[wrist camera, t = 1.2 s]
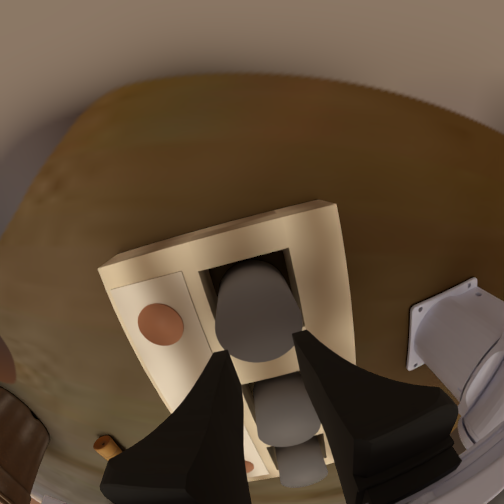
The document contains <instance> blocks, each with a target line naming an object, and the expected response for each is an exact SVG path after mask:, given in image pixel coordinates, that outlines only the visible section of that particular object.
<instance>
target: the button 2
mask: <svg viewBox="0 0 504 504" xmlns="http://www.w3.org/2000/svg"><path fill="white" fill-rule="evenodd" d="M253 396H254V405H255V415H256V424H257V433H258V437H259V439H260V440H261V441H262V442H263V443H265V444H267V445H270V446H274V447H289V446H294V445H298V444H301V443H303V442H305V441H307V440H309V439H310V438H312V437H313V436H314V435H315V434H316V433H317V432H318V431H319V429H320V426H321V422H320V420H319V418H318V416H317V413H316V411H315V409H314V407H313V405H312V402H311V400H310V398H309V396H308V393H307V391H306V389H305V386H304V383H303V379H302V376H301V374H300V373H299V372H297V371H296V372H292V373H288V374H285V375H281V376H277V377H273V378H269V379H265V380H260V381H257V382H256V383H255V385H254V388H253Z"/></svg>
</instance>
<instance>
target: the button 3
mask: <svg viewBox="0 0 504 504" xmlns="http://www.w3.org/2000/svg"><path fill="white" fill-rule="evenodd" d="M275 451H276V457H277V463H278V469H279V475H280V481H281V484H282V485H283V486H286V487H293V488H294V487H304V486H308V485H311V484H314V483H317V482H319V481H320V480H322V479H323V478H325V477H326V476H327V474H328V471H327V467H326V464H325V461H324V458H323V455H322V452H321V448H320V445H319V442H318V439H317V437H316V435H315V436H313V437H312V438H310V439H309V440H307V441H305V442H303V443H301V444H298V445H294V446H289V447H275Z"/></svg>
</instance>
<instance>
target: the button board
mask: <svg viewBox="0 0 504 504" xmlns="http://www.w3.org/2000/svg"><path fill="white" fill-rule="evenodd" d="M278 250H283V254H284V259H285V263H286V267H287V272H288V276H289V281H290V286H291V290H292V295H293V297H294V299H295V301H296V303H297V305H298V307H299V309H300V311H301V314H302V320H303V327H302V331H303V330H308V331H309V332H310V333H311V334H312V335H314V336H315V337H316V338H317V339H318V340H319V341H320V342H322V343H323V344H324V345H325V346H327V347H328V348H329V349H331V350H332V351H333V352H335V353H336V354H338V355H339V356H341V357H342V358H344V359H346V360H347V361H349V362H351V363H352V364H354V365H356V357H355V341H354V328H353V316H352V306H351V297H350V288H349V280H348V272H347V265H346V258H345V251H344V244H343V238H342V232H341V226H340V221H339V215H338V210H337V205H336V204H334V203H331V202H327V201H323V200H319V199H318V200H314V201H310V202H305V203H301V204H297V205H293V206H289V207H285V208H281V209H277V210H273V211H269V212H265V213H261V214H257V215H253V216H249V217H246V218H242V219H238V220H234V221H230V222H227V223H223V224H219V225H216V226H212V227H208V228H205V229H201V230H198V231H194V232H190V233H187V234H183V235H180V236H176V237H173V238H169V239H166V240H163V241H159V242H156V243H152V244H149V245H146V246H142V247H139V248H136V249H133V250H129V251H126V252H123V253H120V254H117V255H116V256H114V257H113V258H112V259H110V260H109V261H108V262H106V263H105V264H103V265H102V266H101V267H99V268H98V271H99V273H100V276H101V279H102V281H103V284H104V286H105V289H106V291H107V294H108V296H109V298H110V301H111V303H112V305H113V308H114V310H115V312H116V314H117V317H118V319H119V321H120V323H121V325H122V327H123V329H124V331H125V333H126V336H127V338H128V340H129V342H130V344H131V346H132V347H133V349H134V351H135V353H136V355H137V357H138V359H139V361H140V363H141V364H142V366H143V368H144V370H145V372H146V373H147V375H148V377H149V379H150V380H151V382H152V384H153V385H154V387H155V389H156V390H157V392H158V394H159V395H160V397H161V399H162V400H163V402H164V403H165V405H166V406H167V408H168V410H169V411H170V413H171V414H172V413H173V412H174V411H175V410H176V408H177V407H178V406H179V405H180V404H181V403H182V401H183V400H184V399H185V397H186V396H187V394H188V393H189V392H190V390H191V389H192V387H193V386H194V384H195V383H196V381H197V380H198V378H199V376H200V375H201V373H202V371H203V370H204V368H205V366H206V364H207V363H208V361H209V359H210V357H211V356H212V354H213V353H214V352H218V351H223V350H224V349H223V348H222V346H221V345H220V343H219V342H218V339H217V337H216V333H215V319H216V311H217V302H218V298H217V295H216V292H215V289H214V286H213V282H212V279H211V276H210V273H209V270H208V269H209V268H213V267H217V266H221V265H225V264H229V263H233V262H236V261H240V260H244V259H248V258H252V257H255V256H259V255H263V254H267V253H271V252H275V251H278ZM230 357H231V359H232V362H233V365H234V367H235V370H236V372H237V375H238V378H239V380H240V383H241V387H242V394H243V402H244V458H245V466H246V473H247V480H248V481H255V480H262V479H268V478H273V477H278V476H280V475H279V469H278V463H277V457H276V451H275V447H273V446H270V445H267V444H265V443H263V442H262V441H261V440H260V439H259V437H258V433H257V424H256V415H255V405H254V398H253V396H252V393H251V391H250V388H249V385H248V383H251V382H256V381H260V380H265V379H269V378H273V377H277V376H281V375H285V374H288V373H292V372H296V371H299V370H300V369H299V365H298V360H297V356H296V351H295V346H293V347H292V349H290V350H289V351H288V352H287V353H286V354H284V355H282V356H281V357H279V358H277V359H274V360H271V361H267V362H260V363H253V362H246V361H242V360H239V359H237V358H235V357H233V356H231V355H230ZM318 434H319V435H318ZM315 435H318V436H316V437H317V439H318V442H319V445H320V448H321V452H322V455H323V458H324V461H325V464H326V465H327V464H330V463H333V462H334V459H333V456H332V453H331V449H330V446H329V443H328V440H327V437H326V434H325V432H324V429H323V427H322V424H321V426H320V429H319V431H318V432H317V433H316V434H315ZM315 435H314V436H315Z"/></svg>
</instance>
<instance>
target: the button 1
mask: <svg viewBox="0 0 504 504" xmlns="http://www.w3.org/2000/svg"><path fill="white" fill-rule="evenodd" d="M302 327H303V320H302V314H301V311H300V309H299V307H298V305H297V303H296V301H295V299H294V297H293V295H292V293H291V291H290V289H289V287H288V285H287V283H286V281H285V279H284V277H283V275H282V274H281V272H280V271H279V270H278V269H277V268H276V267H274V266H273V265H271V264H269V263H267V262H264V261H259V260H248V261H244V262H241V263H238V264H236V265H235V266H233V267H232V268H230V269H229V270H228V271H227V272H226V273H225V275H224V276H223V278H222V280H221V283H220V286H219V293H218V302H217V311H216V319H215V333H216V337H217V339H218V342H219V343H220V345H221V346H222V348H223V349H224V350H227V349H228V352H229V354H230V355H231V356H233V357H235V358H237V359H239V360H242V361H246V362H253V363H260V362H267V361H271V360H274V359H277V358H279V357H281V356H282V355H284V354H286V353H287V352H288V351H289V350H290V349H292V347H293V346H294V342H293V337H292V333H296V332H299V331H302Z"/></svg>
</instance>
